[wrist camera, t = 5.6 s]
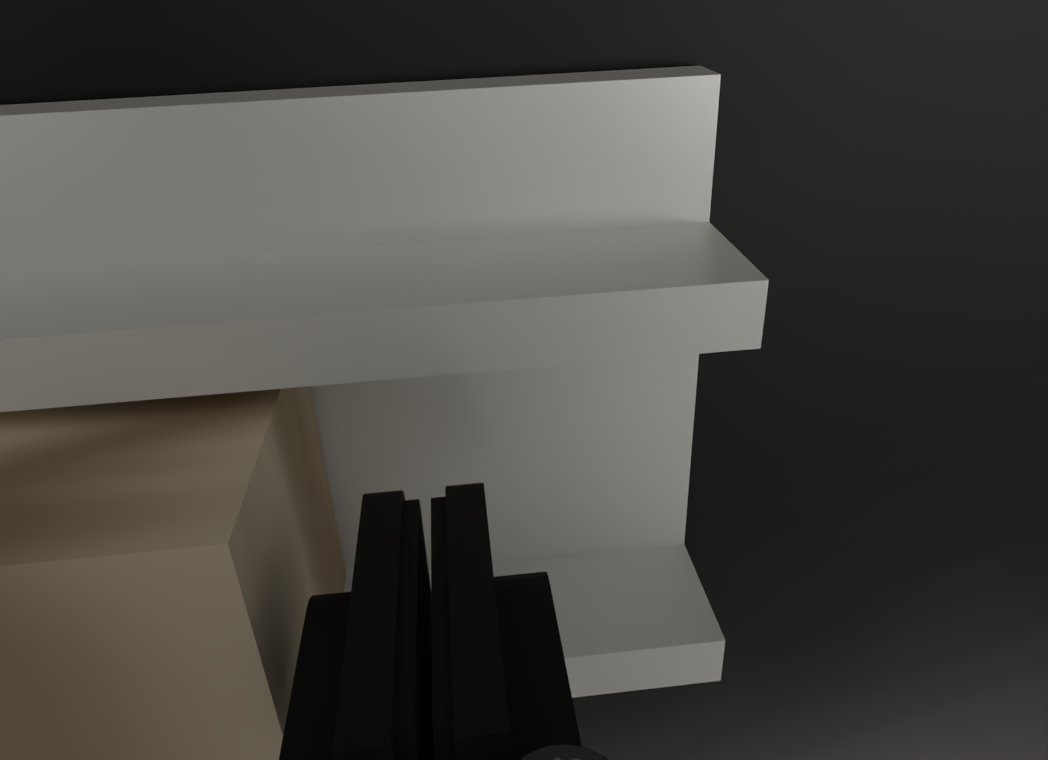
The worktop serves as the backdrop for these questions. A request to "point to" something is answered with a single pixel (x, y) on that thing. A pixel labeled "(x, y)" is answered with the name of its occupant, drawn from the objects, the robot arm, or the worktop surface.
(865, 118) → the worktop surface
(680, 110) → the chute
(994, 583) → the worktop surface
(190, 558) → the block
